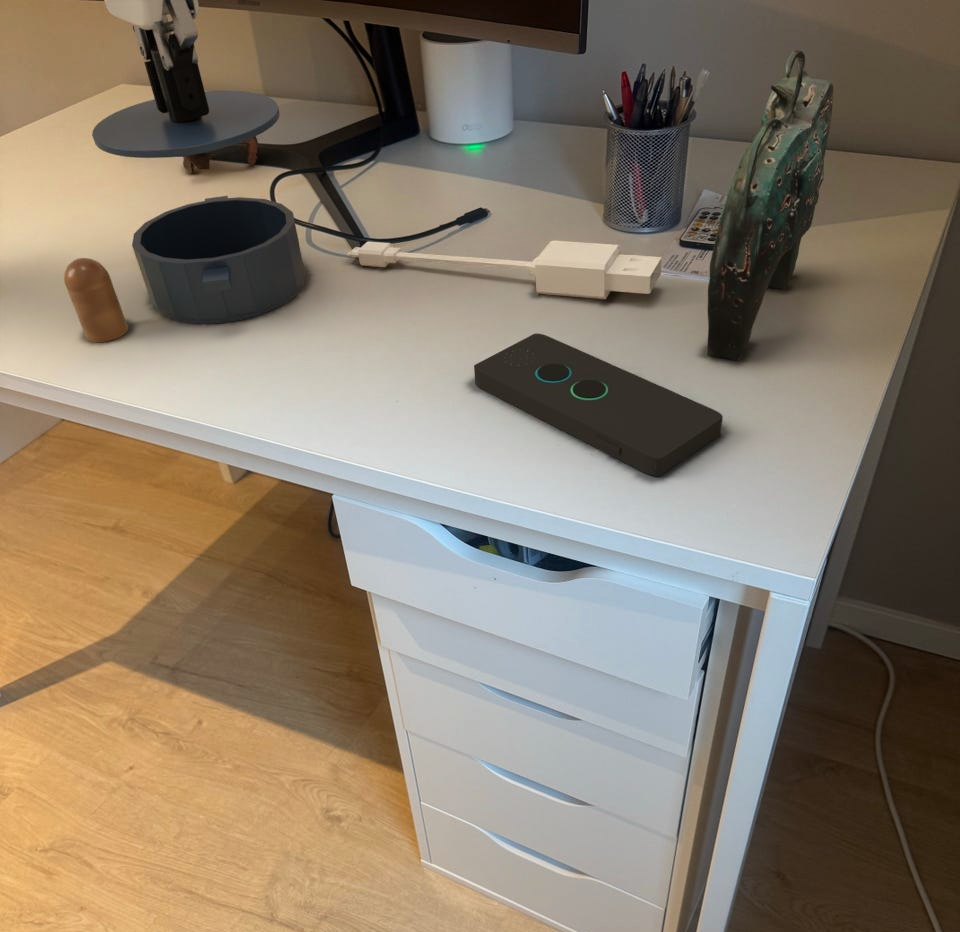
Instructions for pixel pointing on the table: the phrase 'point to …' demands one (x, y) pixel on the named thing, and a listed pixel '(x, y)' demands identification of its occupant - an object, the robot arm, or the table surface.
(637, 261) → the charging cable
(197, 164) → the orange-brown curved ring piece
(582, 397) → the smart home device
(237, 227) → the pot
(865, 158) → the table surface
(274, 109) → the lid
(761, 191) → the dark green sculpted piece
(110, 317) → the brown domed cylinder
